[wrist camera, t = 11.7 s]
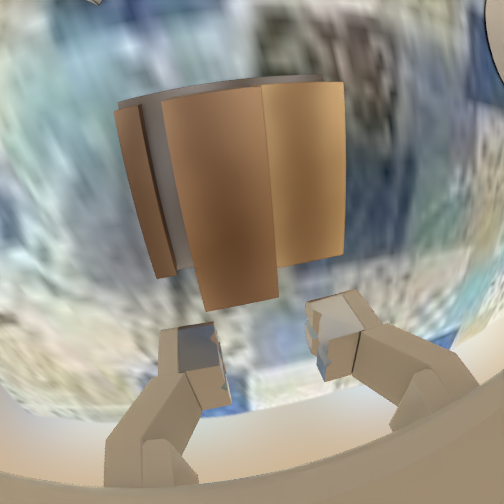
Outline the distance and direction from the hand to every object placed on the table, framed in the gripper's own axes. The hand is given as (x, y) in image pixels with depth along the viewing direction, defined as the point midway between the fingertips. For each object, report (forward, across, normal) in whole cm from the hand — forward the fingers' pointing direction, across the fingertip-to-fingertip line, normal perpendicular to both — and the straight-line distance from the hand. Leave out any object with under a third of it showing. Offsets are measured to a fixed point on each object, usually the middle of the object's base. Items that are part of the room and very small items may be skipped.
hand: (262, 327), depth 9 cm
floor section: (+15, -1, 0) cm, 15 cm away
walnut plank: (+14, 0, 0) cm, 14 cm away
